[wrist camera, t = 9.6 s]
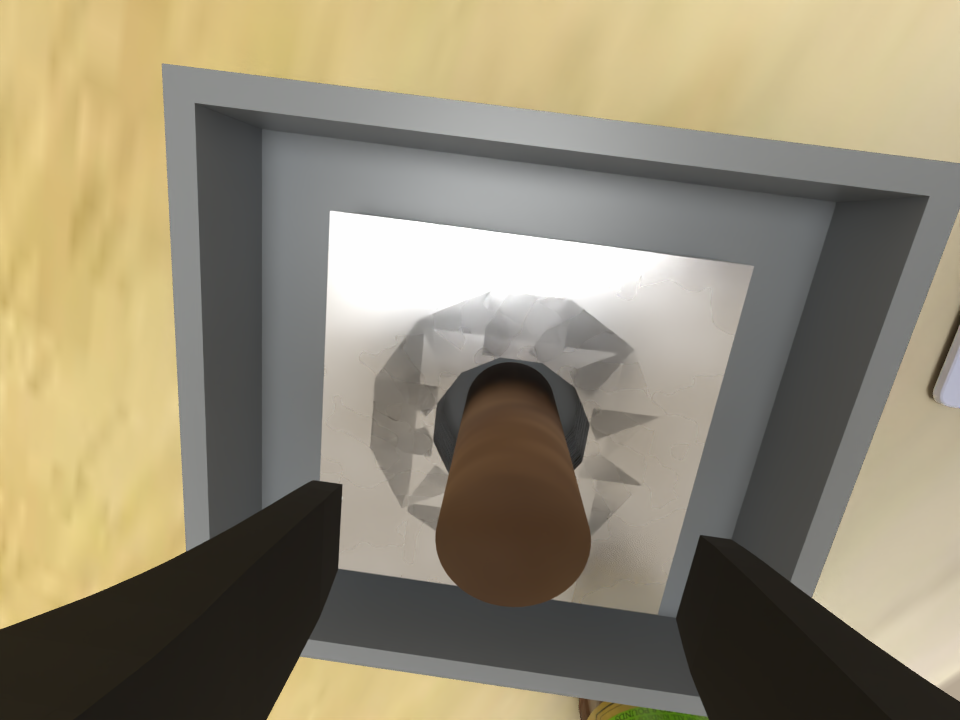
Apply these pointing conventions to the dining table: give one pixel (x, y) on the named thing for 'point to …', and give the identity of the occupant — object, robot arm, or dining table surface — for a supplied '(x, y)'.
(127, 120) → the dining table surface
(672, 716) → the sauce bottle
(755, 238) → the open box
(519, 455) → the peg
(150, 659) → the robot arm
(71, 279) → the dining table surface
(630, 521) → the bored plate
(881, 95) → the dining table surface
